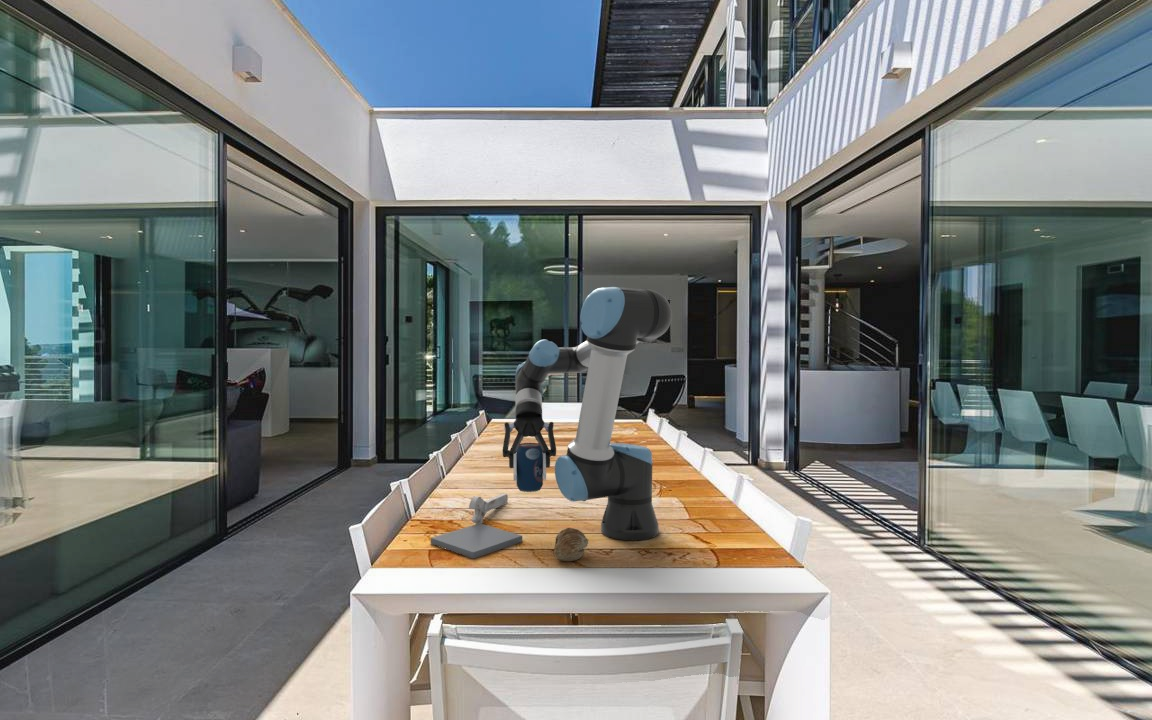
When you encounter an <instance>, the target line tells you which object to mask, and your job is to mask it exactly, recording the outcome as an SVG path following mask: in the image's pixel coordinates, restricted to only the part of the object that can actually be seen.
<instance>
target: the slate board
mask: <svg viewBox="0 0 1152 720" xmlns="http://www.w3.org/2000/svg"><path fill="white" fill-rule="evenodd" d="M519 542H520V543H522V542H523V535H521V534H518V533H515V532H512V531H511V532H510V531H507V530H505V529H501V528H498V527H494V526H491V525H487V524H483V523H482V524H481V523H479V524H476V523H475V524H473V525H470V526H466V527H463V528H460V529H455V530H453V531H450V532H445V533H442V534H439V535H435V536H433V537H430V545H433V544H434V545H433V546H435V545H437V546H436V547H438V546H440V547H439V548H441V547H443V548H442V549H444V548H446V549H445V550H447V549H448V551H450V550H451V551H450V552H453V551H454V552H453V553H455V552H457V553H456V554H458V553H459V555H461V554H462V556H465V557H467V558H470V559H477V558H479V557H482V556H485V555H488V554H491V553H494V552H497V551H499V550H501V549H502V548H503V549H505V548H508V547H511V546H513V545H516V544H520V543H519Z"/></svg>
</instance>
